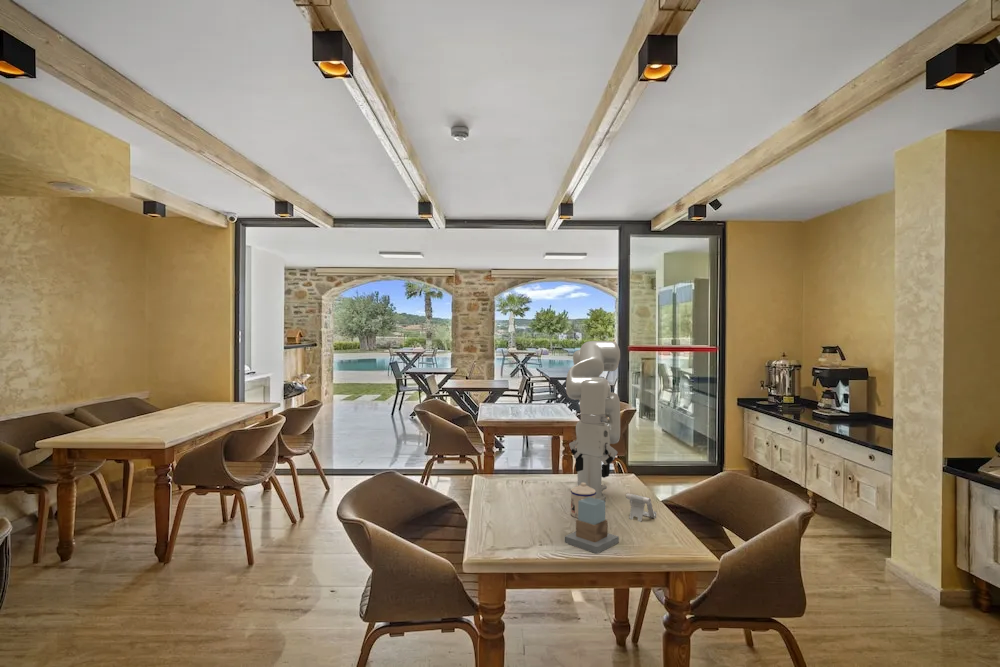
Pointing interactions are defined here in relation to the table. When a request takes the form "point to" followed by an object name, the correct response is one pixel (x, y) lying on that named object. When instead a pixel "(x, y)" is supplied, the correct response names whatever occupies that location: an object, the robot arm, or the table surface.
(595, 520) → the cube
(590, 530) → the walnut block
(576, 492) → the teacup with lid
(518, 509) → the table surface
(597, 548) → the slate base
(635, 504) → the portable electronic device stand
